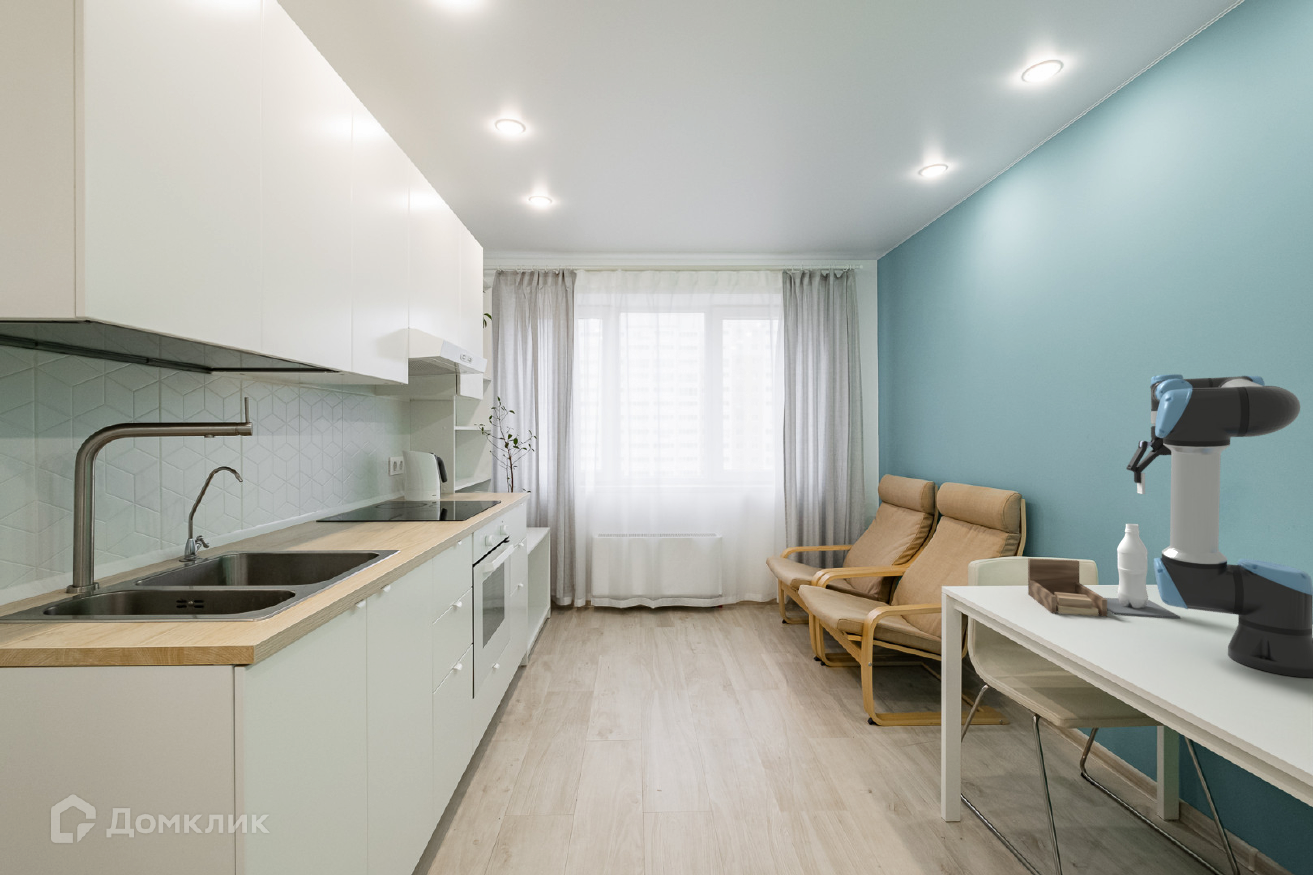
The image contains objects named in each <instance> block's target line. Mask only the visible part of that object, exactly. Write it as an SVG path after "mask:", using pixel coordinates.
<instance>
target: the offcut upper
mask: <svg viewBox="0 0 1313 875" xmlns="http://www.w3.org/2000/svg"><path fill="white" fill-rule="evenodd" d="M1054 596H1056V603H1057V604H1058V605H1059V606H1066V607H1076V608H1086V609H1092V600H1091V599H1090V598H1089V597H1088V596H1087V595H1082V594H1071V593H1060V592H1054Z"/></svg>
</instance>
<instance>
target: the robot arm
mask: <svg viewBox="0 0 1313 875" xmlns="http://www.w3.org/2000/svg"><path fill="white" fill-rule="evenodd" d="M1149 388H1150V404H1151V405H1150V408H1151V409H1150V410H1151V411H1150V424H1152V425H1151V427H1150V438H1151V440H1150V441H1146V440H1139V441H1138V446H1137V449H1136V451H1135V452H1134V454H1133V456H1132V458H1131V459H1130V461H1129V462H1128V464H1127V466H1126V470H1127V471H1131V472H1133V481H1134V483H1136V486H1137V487H1136V488H1137V489H1136V490H1137V491H1136V493H1137V494H1140V495H1146V473H1145V472H1144V470H1145V469H1146V468H1147V467H1148V466H1149V465H1151V463H1152V462H1153V461H1154V460H1155V459H1156V458H1158V457H1159V456H1171V459H1170V460H1171V462H1170V463H1171V464H1170V468H1171V469H1170V470H1171V471H1170V474H1171V475H1170V521H1169V522H1170V523H1169V524H1170V528H1169V532H1170V534H1169V546H1167V547H1165V548H1164V549H1162V550H1161V557H1160V556H1159V557H1154V558H1153V569H1154V575H1155V579H1156V585H1157V590H1158V593H1159V598H1160V600H1161V601H1162V603H1163V604H1165V605H1167V606H1170V607H1175V608H1182V609H1185V610H1194V611H1195V610H1196V611H1205V612H1213V613H1220V614H1230V615H1237V617H1238V622H1237V623H1238V624H1237V627H1236V629H1235V630H1234V633H1233V635H1232V637H1231V639H1230V641H1229V643H1228V645H1227V655H1228V657H1229V658H1230V659H1231V660H1233V661H1235V662H1237V663H1239V664H1241V665H1244V666H1247V667H1250V668H1254V669H1256V670H1259V671H1264V672H1268V673H1273V674H1277V675H1284V676H1290V677H1297V678H1313V581H1312V577H1311V576H1310V575H1309V574H1308V573H1306V571H1303V570H1301V569H1299V568H1295V567H1292V566H1289V565H1285V564H1281V563H1277V562H1272V561H1267V560H1266V561H1265V560H1260V559H1254V558H1253V559H1252V558H1239V559H1238V560H1237V563H1236V564H1230V563H1228V557H1227V556H1226V555H1225V554H1223V553H1222V552H1221V551H1219V539H1220V538H1219V536H1220V534H1219V532H1220V498H1221V497H1220V496H1221V494H1220V493H1221V453H1223V451H1224V450H1226V449H1227V448H1229V447H1230V446H1231V438H1247V437H1248V438H1252V437H1260V436H1266V435H1270V434H1272V433H1275V432H1278V431H1280V430H1283V429H1284V428H1286V427H1288V426H1289V425H1291V424H1292V423H1293V422H1294V421H1295V420H1296V419H1297V418H1298V416H1299V414H1300V412H1301V403H1300V400H1299V398H1298V397H1297V396H1296V394H1294V393H1293V392H1292V391H1289V390H1288V389H1285V388H1283V387H1280V386H1274V385H1266V383H1265V380H1264V378H1263V377H1261V376H1259V375H1240V376H1225V377H1203V378H1201V377H1199V378H1184V376H1183V375H1182V374H1181V373H1180V374H1178V373H1177V374H1176V373H1175V374H1173V373H1172V374H1160V375H1154V376H1152V377H1151V379H1150V385H1149ZM1150 447H1151V448H1152V449H1151V450H1150V451H1149V452H1148V454H1147V455H1146V456H1145V457H1144V455H1145V453H1146V451H1147V449H1149V448H1150ZM1143 457H1144V458H1143Z"/></svg>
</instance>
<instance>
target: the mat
mask: <svg viewBox="0 0 1313 875" xmlns="http://www.w3.org/2000/svg"><path fill="white" fill-rule="evenodd" d="M1104 598H1105V599H1107V609H1108V610H1109V612H1110V613H1111V612H1112V613H1111V614H1113V613H1114V614H1113V615H1117V614H1121V616H1131V617H1132V616H1134V617H1135V616H1136V617H1149V618H1150V617H1151V618H1163V619H1165V618H1166V619H1167V618H1168V619H1177V620H1179V619H1181V616H1180V615H1178V614H1176V613H1175V612H1172V611H1170V610H1169V609H1167V608H1166V607H1163V606H1161V605H1159V604H1158V603H1155V602H1154V601H1152V600H1150V599H1148V603H1147V605H1146V607H1144V608H1142V607H1141V608H1138V609H1137V608H1133V607H1132V605H1131V604H1129V605H1128V606H1127V607H1126V606H1123V605H1122V604H1121V603H1120V601H1119V599H1118V597H1117V598H1115V597H1104ZM1108 610H1107V611H1108Z"/></svg>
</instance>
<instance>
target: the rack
mask: <svg viewBox="0 0 1313 875" xmlns="http://www.w3.org/2000/svg"><path fill="white" fill-rule="evenodd" d="M1027 569H1028V570H1027V580H1028V581H1027V582H1028V584H1027V586H1028V587H1027V588H1028V592H1027V594H1028V595H1029V596H1030V597H1031V598H1033V600H1035V601H1036V602H1038V604H1040V605H1041V606H1042V607H1043V608H1045V609H1046V610H1047V611H1048V612H1049V613H1051V614H1057V611H1056V596H1054V592H1060V593H1071V594H1082V595H1087V596H1088V597H1089V598H1090V599H1091V600H1092V606H1094V607H1095V608H1097V609H1098V615H1099V614H1100V615H1099V616H1100V617H1103V616H1107V617H1108V610H1107V599H1105V598H1106V597H1104V596H1102V595H1100V594H1098V593H1097V592H1095V591H1093V590H1092V589H1091V588H1088V587H1087V586H1085V585H1084V584H1082V583H1080V560H1077V559H1076V560H1074V559H1073V560H1072V559H1052V558H1051V559H1050V558H1033V557H1032V558H1030V557H1028V559H1027Z"/></svg>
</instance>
